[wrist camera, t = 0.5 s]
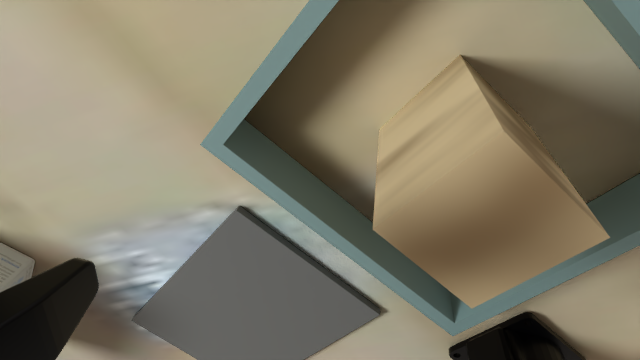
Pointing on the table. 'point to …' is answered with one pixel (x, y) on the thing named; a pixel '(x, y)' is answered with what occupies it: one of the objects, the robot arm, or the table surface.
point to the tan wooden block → (475, 190)
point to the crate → (357, 231)
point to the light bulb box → (14, 267)
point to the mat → (253, 299)
